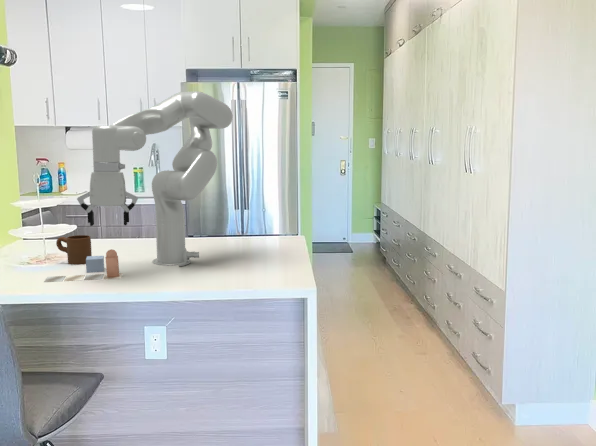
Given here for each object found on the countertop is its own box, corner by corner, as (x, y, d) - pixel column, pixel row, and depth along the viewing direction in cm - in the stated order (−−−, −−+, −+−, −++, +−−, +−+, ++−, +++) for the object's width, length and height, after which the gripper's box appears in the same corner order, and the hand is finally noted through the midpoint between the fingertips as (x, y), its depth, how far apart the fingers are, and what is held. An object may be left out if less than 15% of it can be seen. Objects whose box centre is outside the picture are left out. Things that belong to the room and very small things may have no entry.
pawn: (120, 274, 173) (118, 248, 172) (118, 277, 170) (116, 250, 169) (108, 274, 173) (106, 248, 172) (105, 277, 169) (103, 251, 168)
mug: (51, 265, 187) (49, 237, 186) (64, 260, 195) (62, 234, 193) (84, 267, 185) (83, 239, 184) (96, 262, 193) (95, 235, 191)
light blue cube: (104, 270, 182) (103, 255, 181) (103, 274, 177) (102, 258, 176) (87, 271, 180) (87, 256, 180) (86, 275, 176) (85, 259, 175)
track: (123, 275, 176) (123, 272, 175) (122, 281, 169) (122, 278, 169) (47, 279, 170) (47, 276, 170) (43, 285, 164) (42, 282, 163)
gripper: (138, 167, 172) (139, 222, 175) (78, 167, 169) (80, 223, 171) (136, 168, 165) (137, 226, 168) (73, 168, 162) (76, 227, 164)
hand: (108, 225), depth 170 cm, fingers open, 9 cm apart
